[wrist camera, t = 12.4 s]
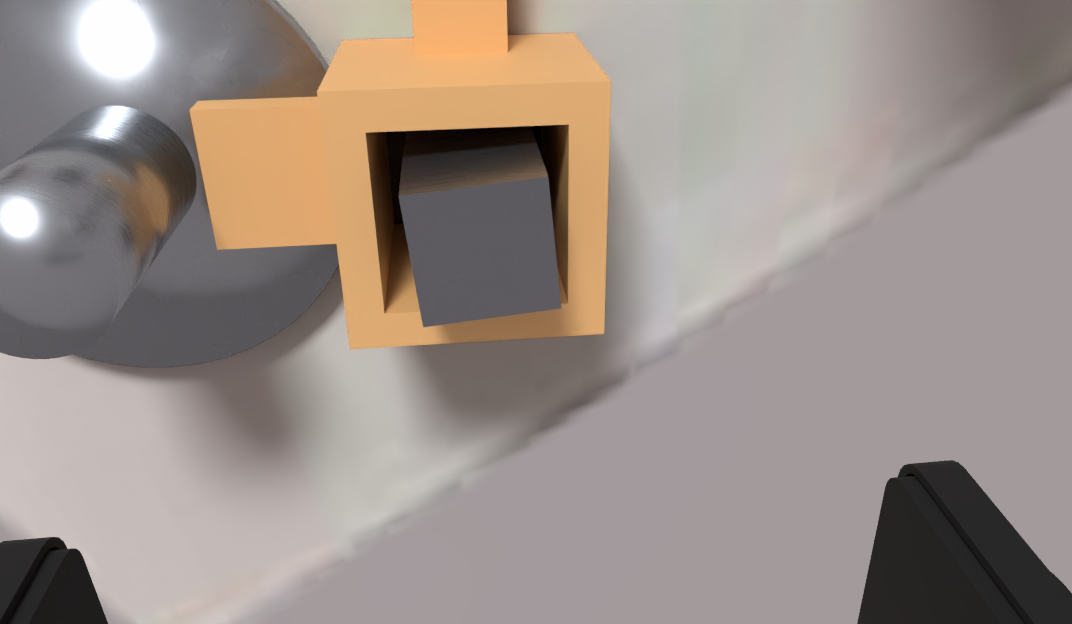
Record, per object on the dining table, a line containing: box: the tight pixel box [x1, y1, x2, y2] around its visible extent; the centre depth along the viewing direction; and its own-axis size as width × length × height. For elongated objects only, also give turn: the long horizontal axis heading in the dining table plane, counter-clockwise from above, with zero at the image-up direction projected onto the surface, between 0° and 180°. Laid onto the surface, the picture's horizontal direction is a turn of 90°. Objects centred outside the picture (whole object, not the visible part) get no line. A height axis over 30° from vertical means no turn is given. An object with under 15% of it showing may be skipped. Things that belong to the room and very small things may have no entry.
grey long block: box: [399, 126, 561, 327], centre depth 29 cm, size 4×4×10 cm
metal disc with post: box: [0, 0, 339, 367], centre depth 27 cm, size 16×16×10 cm
